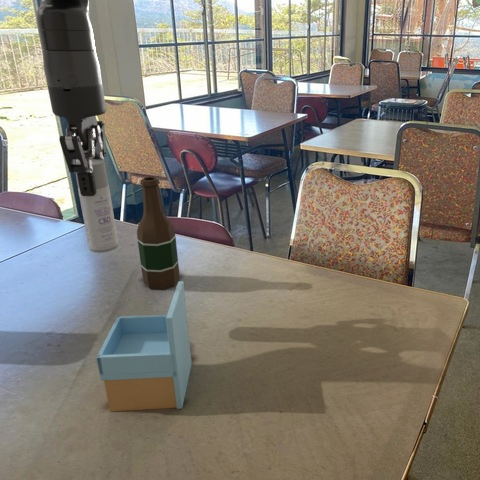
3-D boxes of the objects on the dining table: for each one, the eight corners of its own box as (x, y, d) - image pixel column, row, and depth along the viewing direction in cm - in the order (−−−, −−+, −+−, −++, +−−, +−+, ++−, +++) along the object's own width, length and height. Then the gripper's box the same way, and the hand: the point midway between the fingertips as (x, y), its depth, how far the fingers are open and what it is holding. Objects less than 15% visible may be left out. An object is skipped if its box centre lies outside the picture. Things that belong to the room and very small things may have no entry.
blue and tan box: (107, 413, 71) (88, 321, 64) (125, 367, 80) (111, 283, 74) (182, 409, 72) (171, 318, 65) (191, 364, 81) (183, 280, 75)
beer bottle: (179, 272, 112) (168, 172, 102) (181, 288, 105) (170, 182, 96) (143, 276, 110) (129, 174, 100) (143, 292, 103) (128, 185, 93)
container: (106, 254, 81) (91, 167, 75) (83, 250, 82) (66, 164, 76) (124, 243, 85) (111, 160, 79) (101, 240, 86) (87, 157, 80)
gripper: (65, 77, 78) (84, 178, 85) (27, 87, 65) (53, 205, 72) (113, 78, 79) (128, 178, 86) (85, 87, 66) (105, 204, 73)
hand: (93, 190), depth 79 cm, fingers closed on container, 4 cm apart
